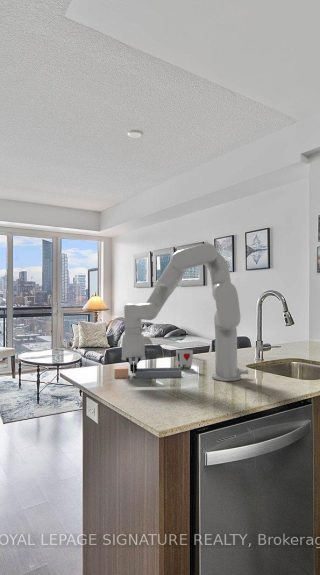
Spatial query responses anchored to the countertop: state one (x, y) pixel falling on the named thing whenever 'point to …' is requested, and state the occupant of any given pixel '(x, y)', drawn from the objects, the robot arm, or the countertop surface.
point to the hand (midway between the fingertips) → (133, 372)
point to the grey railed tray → (157, 372)
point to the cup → (184, 359)
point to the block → (120, 372)
